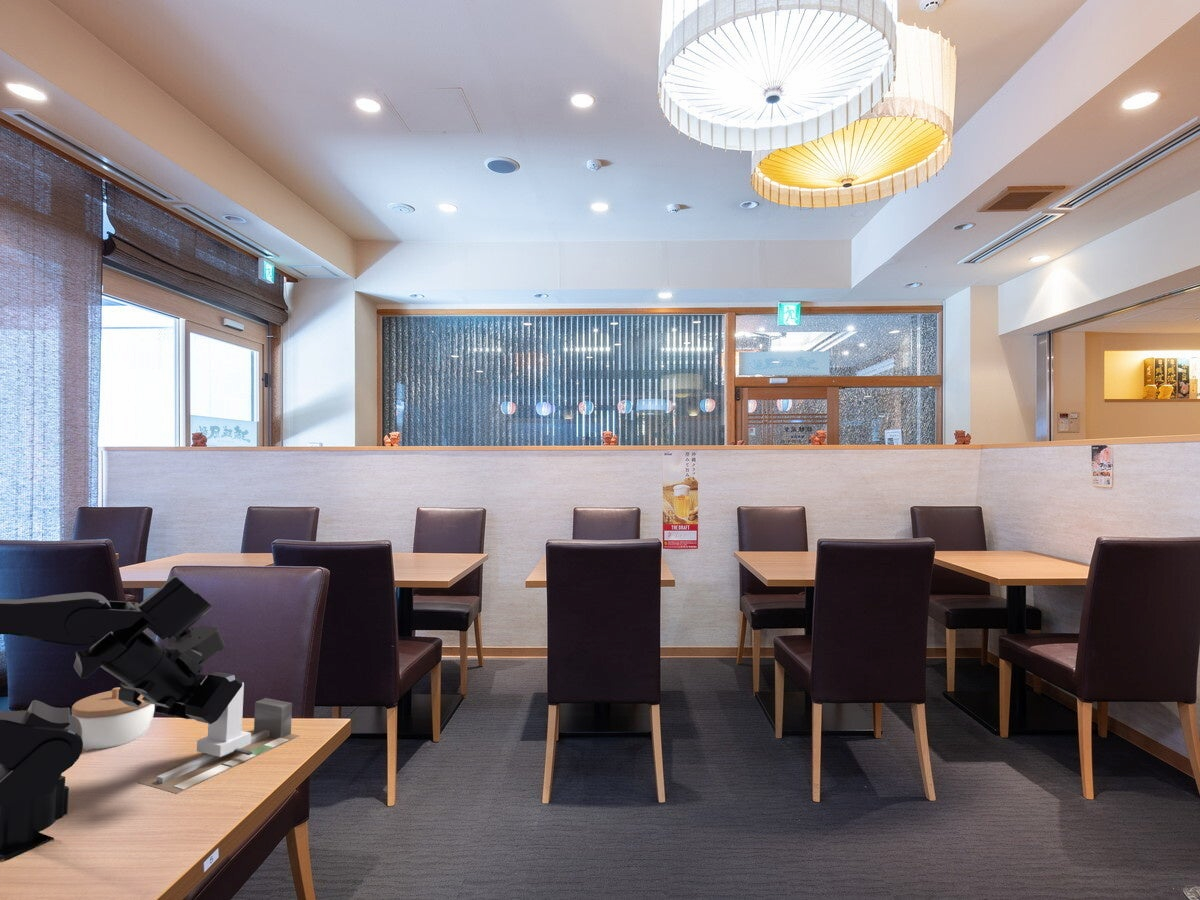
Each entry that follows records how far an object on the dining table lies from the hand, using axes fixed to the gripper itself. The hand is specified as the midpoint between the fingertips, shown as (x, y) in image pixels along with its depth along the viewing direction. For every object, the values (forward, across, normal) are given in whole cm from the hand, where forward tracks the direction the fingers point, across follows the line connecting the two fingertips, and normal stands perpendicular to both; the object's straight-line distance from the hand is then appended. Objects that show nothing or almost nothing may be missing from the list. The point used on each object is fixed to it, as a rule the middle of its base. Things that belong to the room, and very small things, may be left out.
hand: (217, 717), depth 90 cm
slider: (+5, -1, +3) cm, 6 cm away
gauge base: (+6, -1, +5) cm, 8 cm away
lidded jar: (+5, +22, +6) cm, 24 cm away
